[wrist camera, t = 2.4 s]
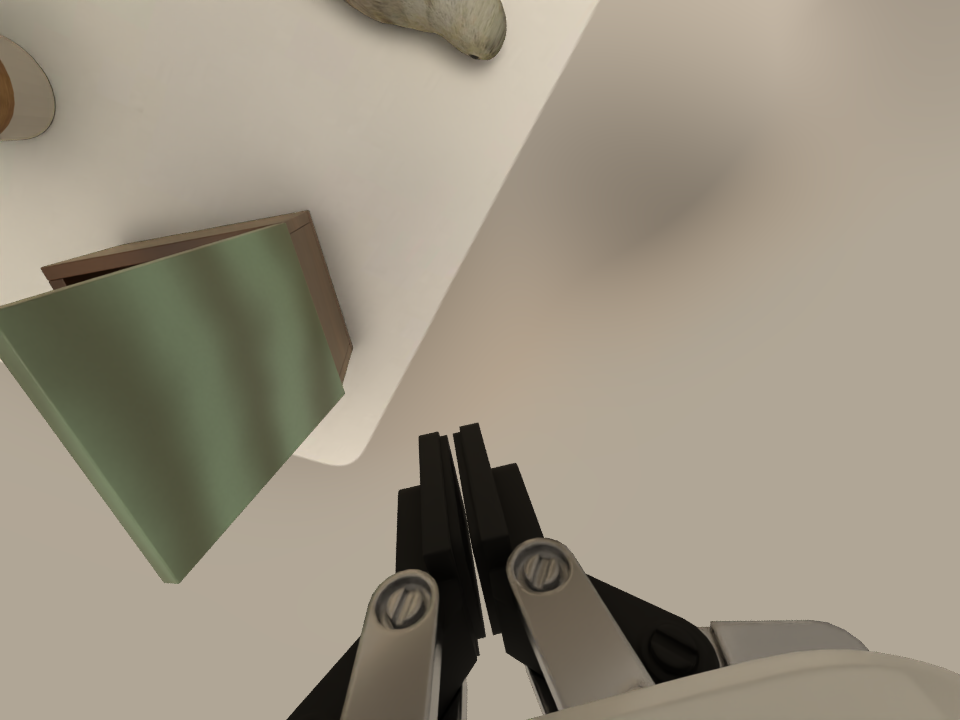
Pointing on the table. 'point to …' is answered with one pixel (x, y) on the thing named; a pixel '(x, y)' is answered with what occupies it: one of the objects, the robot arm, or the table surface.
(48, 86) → the coffee cup
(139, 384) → the green rectangular panel
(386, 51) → the table surface
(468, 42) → the decorative bird
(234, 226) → the cold frame
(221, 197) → the table surface
